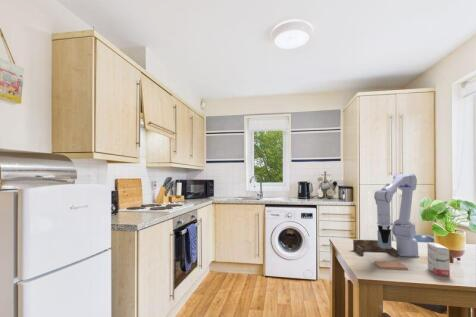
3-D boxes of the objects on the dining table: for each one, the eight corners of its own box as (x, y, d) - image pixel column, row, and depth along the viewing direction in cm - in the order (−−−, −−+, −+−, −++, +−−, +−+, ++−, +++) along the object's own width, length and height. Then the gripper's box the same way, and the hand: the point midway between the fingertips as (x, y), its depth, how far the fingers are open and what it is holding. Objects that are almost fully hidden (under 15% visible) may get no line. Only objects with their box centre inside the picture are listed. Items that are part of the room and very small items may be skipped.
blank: (385, 245, 131) (385, 230, 132) (391, 248, 126) (390, 232, 127) (377, 245, 131) (377, 230, 132) (383, 248, 126) (382, 232, 127)
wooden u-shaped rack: (390, 251, 145) (389, 240, 145) (399, 257, 135) (398, 245, 135) (353, 250, 147) (353, 239, 148) (359, 255, 137) (359, 244, 138)
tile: (399, 263, 125) (399, 261, 125) (408, 269, 117) (408, 267, 117) (373, 262, 126) (373, 260, 127) (380, 268, 119) (380, 266, 119)
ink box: (451, 276, 109) (449, 248, 110) (437, 275, 110) (436, 247, 111) (439, 269, 118) (438, 242, 119) (427, 268, 119) (426, 242, 120)
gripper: (394, 216, 121) (395, 245, 121) (391, 212, 134) (392, 238, 133) (377, 215, 124) (378, 244, 124) (376, 211, 137) (377, 237, 137)
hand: (384, 241), depth 129 cm, fingers closed on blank, 6 cm apart
